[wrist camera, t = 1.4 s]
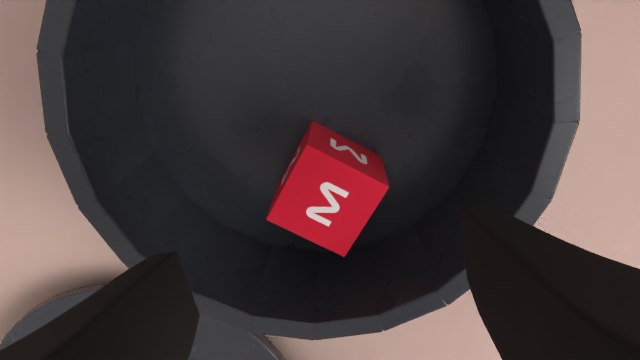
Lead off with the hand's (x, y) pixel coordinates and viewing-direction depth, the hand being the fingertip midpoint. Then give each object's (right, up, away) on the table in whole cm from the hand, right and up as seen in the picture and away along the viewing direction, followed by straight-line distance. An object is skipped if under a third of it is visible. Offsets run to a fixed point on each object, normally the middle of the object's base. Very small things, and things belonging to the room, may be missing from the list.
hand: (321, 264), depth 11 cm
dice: (0, +2, +6) cm, 7 cm away
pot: (0, +5, +5) cm, 8 cm away
